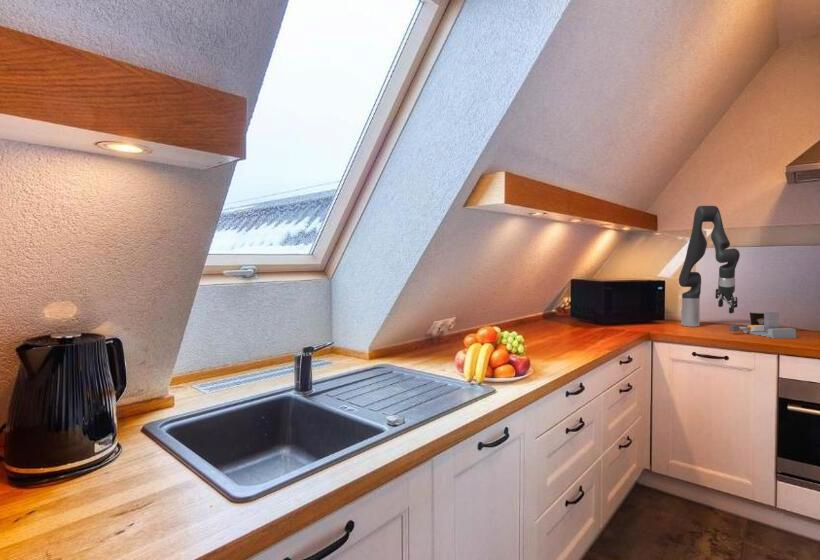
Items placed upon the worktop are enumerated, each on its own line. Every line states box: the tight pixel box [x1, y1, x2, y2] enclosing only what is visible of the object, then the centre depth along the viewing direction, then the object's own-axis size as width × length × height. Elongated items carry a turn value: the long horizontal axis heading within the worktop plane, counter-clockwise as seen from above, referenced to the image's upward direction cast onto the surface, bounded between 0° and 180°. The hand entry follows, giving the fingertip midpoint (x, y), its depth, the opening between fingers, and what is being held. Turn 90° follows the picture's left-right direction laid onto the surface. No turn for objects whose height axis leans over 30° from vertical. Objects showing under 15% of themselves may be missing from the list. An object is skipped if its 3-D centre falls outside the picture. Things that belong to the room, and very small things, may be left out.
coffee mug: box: [749, 311, 765, 325], centre depth 260 cm, size 12×9×10 cm
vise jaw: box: [729, 324, 764, 333], centre depth 247 cm, size 3×22×3 cm, turn 92°
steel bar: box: [763, 311, 780, 333], centre depth 240 cm, size 4×5×11 cm
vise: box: [742, 327, 797, 339], centre depth 241 cm, size 20×12×4 cm, turn 2°
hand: (725, 309), depth 254 cm, fingers open, 8 cm apart
